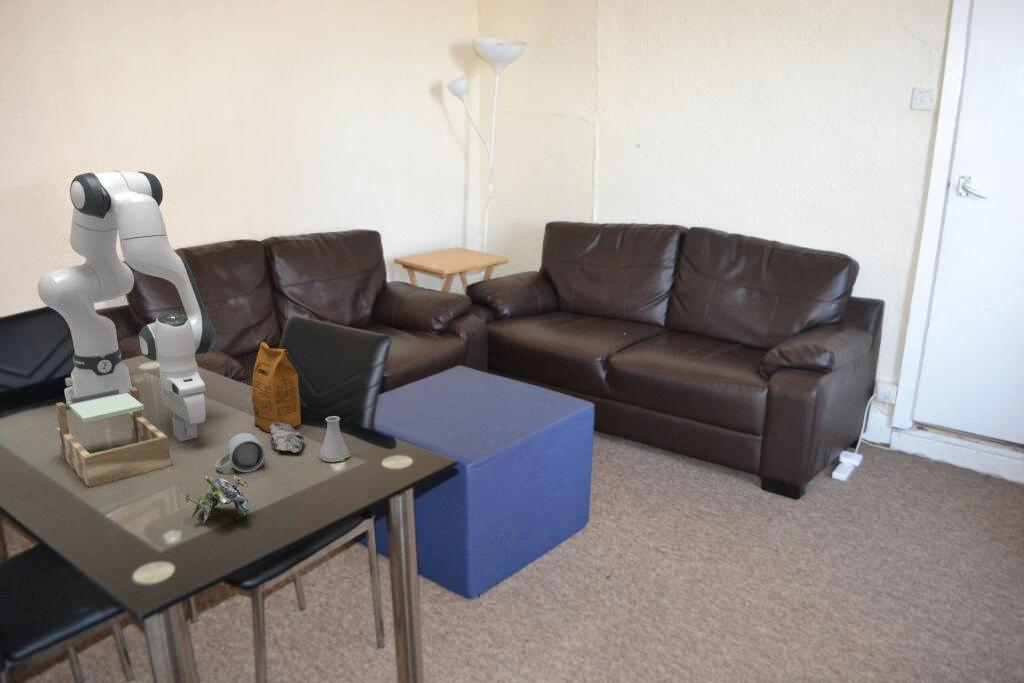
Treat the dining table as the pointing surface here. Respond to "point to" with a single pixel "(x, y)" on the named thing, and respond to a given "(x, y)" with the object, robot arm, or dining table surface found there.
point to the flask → (333, 441)
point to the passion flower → (222, 496)
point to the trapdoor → (103, 404)
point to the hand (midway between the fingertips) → (185, 430)
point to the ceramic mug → (242, 454)
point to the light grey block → (182, 429)
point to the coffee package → (275, 389)
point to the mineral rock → (285, 437)
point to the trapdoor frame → (115, 451)
